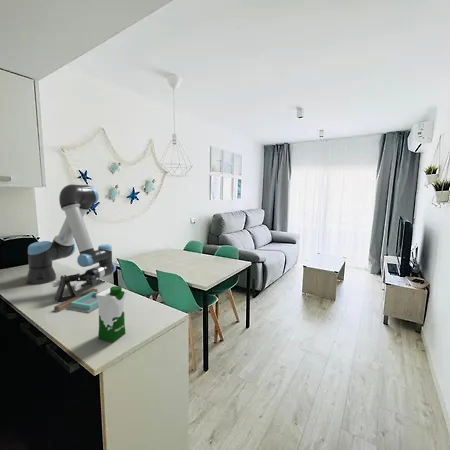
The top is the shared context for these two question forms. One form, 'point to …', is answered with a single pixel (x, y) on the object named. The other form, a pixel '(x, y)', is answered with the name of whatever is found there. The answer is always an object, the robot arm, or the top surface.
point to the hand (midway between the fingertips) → (64, 286)
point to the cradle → (85, 303)
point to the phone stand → (61, 288)
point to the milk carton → (111, 314)
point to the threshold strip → (68, 302)
